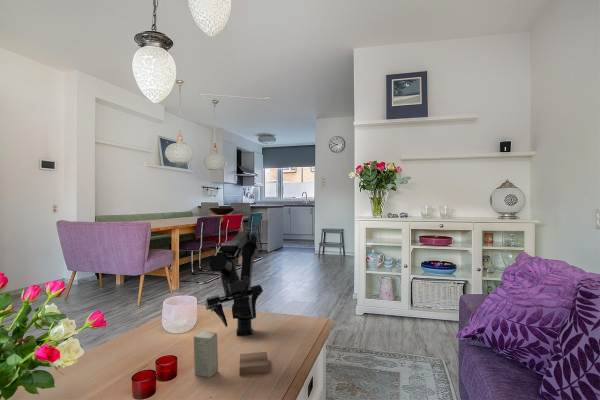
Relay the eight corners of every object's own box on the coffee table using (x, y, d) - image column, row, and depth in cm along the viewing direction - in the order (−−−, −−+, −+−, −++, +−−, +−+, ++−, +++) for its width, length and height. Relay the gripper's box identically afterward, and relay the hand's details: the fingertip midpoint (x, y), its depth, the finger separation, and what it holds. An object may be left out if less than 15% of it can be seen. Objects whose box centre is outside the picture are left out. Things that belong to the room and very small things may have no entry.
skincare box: (218, 371, 103) (218, 332, 103) (210, 378, 98) (210, 338, 98) (201, 367, 105) (201, 330, 105) (193, 374, 100) (193, 335, 101)
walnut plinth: (239, 361, 109) (239, 354, 109) (266, 359, 110) (266, 351, 110) (239, 375, 100) (239, 367, 100) (268, 372, 101) (268, 364, 101)
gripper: (204, 275, 101) (215, 325, 95) (260, 263, 110) (273, 308, 103) (201, 286, 110) (210, 332, 103) (253, 274, 118) (264, 316, 112)
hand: (240, 322), depth 105 cm, fingers open, 9 cm apart
